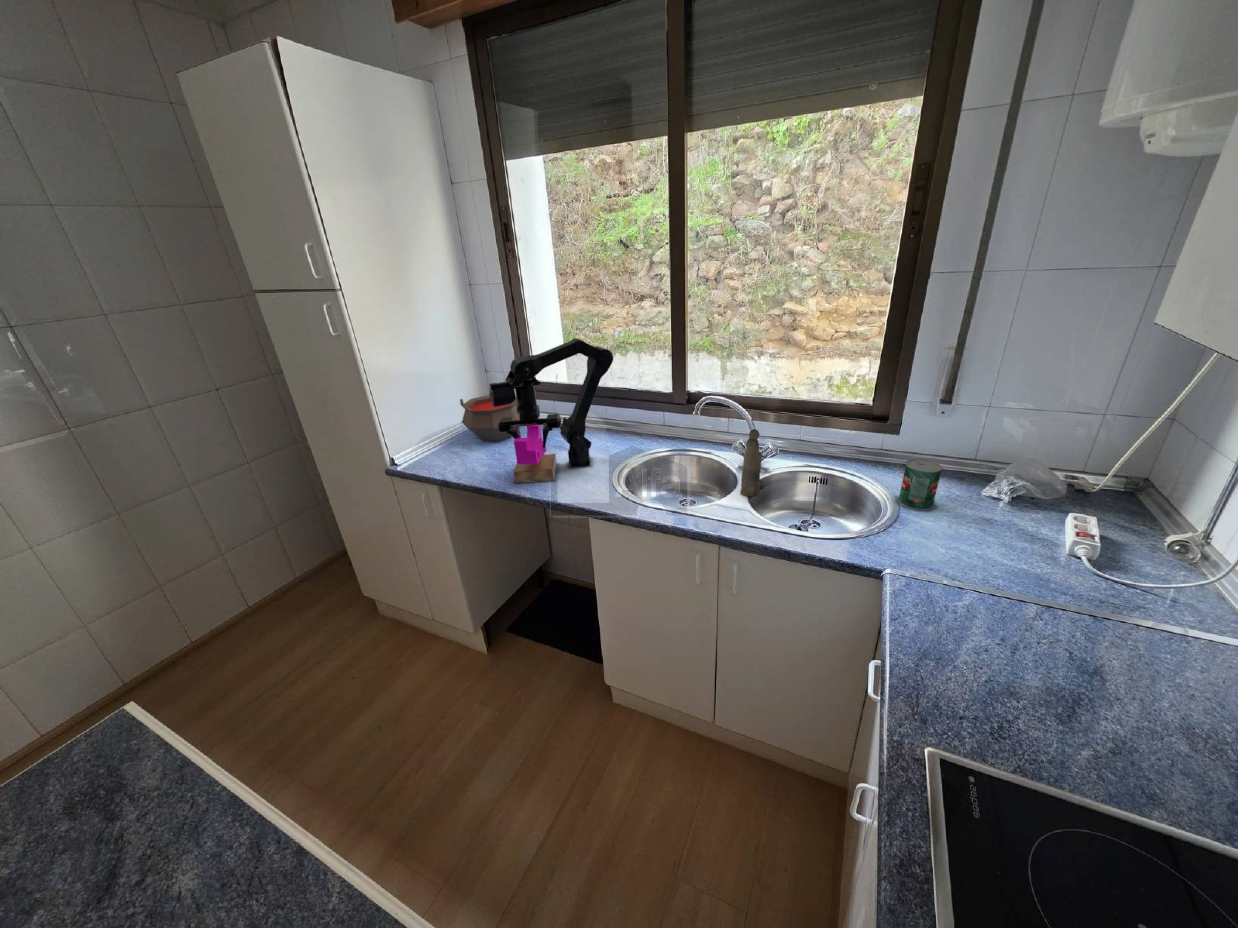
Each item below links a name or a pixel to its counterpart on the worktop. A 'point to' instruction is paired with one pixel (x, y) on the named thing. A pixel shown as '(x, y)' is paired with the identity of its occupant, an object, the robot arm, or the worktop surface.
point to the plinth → (536, 470)
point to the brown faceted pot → (487, 418)
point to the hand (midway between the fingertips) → (533, 448)
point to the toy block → (530, 446)
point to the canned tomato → (919, 484)
